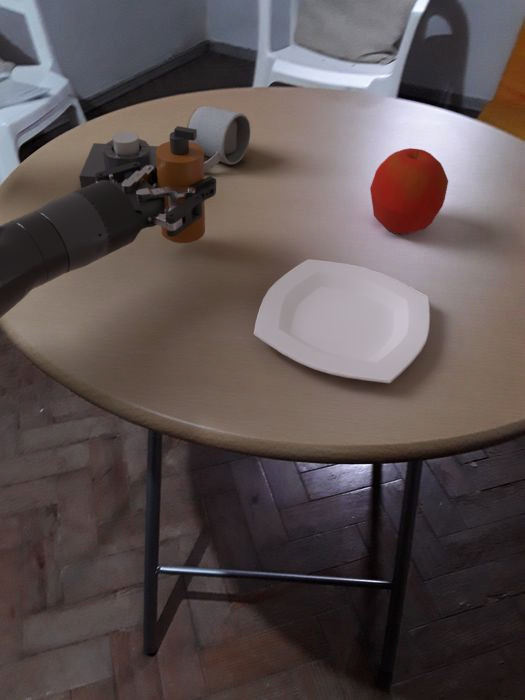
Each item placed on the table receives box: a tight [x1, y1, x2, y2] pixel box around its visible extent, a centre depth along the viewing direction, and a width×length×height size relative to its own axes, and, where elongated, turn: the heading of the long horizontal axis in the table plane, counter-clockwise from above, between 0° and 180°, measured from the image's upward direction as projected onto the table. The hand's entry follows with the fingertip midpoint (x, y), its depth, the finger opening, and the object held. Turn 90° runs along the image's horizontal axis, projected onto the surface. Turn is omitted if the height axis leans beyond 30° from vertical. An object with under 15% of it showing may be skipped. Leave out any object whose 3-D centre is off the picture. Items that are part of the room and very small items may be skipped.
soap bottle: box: [156, 125, 206, 244], centre depth 77 cm, size 6×6×14 cm
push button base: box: [78, 138, 159, 189], centre depth 92 cm, size 12×10×6 cm
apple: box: [369, 147, 449, 235], centre depth 85 cm, size 10×10×12 cm
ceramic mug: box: [185, 105, 252, 172], centre depth 98 cm, size 11×8×8 cm
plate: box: [253, 258, 431, 384], centre depth 73 cm, size 19×19×2 cm
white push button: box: [112, 130, 140, 155], centre depth 89 cm, size 4×4×2 cm
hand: (195, 175), depth 78 cm, fingers closed on soap bottle, 5 cm apart
